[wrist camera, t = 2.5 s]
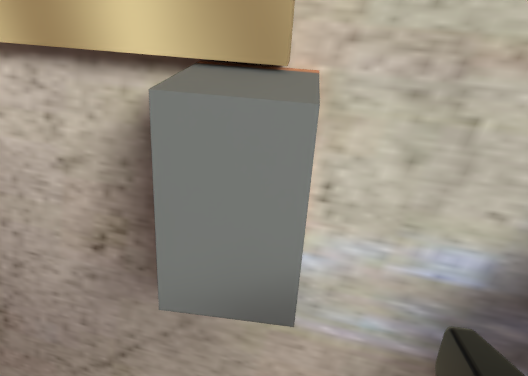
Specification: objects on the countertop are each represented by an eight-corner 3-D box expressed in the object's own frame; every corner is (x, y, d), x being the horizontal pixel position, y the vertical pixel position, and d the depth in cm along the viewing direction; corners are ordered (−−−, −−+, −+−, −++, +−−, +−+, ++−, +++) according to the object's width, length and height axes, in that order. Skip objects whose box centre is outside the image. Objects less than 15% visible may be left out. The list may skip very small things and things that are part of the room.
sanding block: (319, 70, 14) (319, 103, 10) (300, 238, 17) (293, 326, 13) (200, 60, 15) (148, 89, 10) (200, 227, 17) (158, 309, 13)
